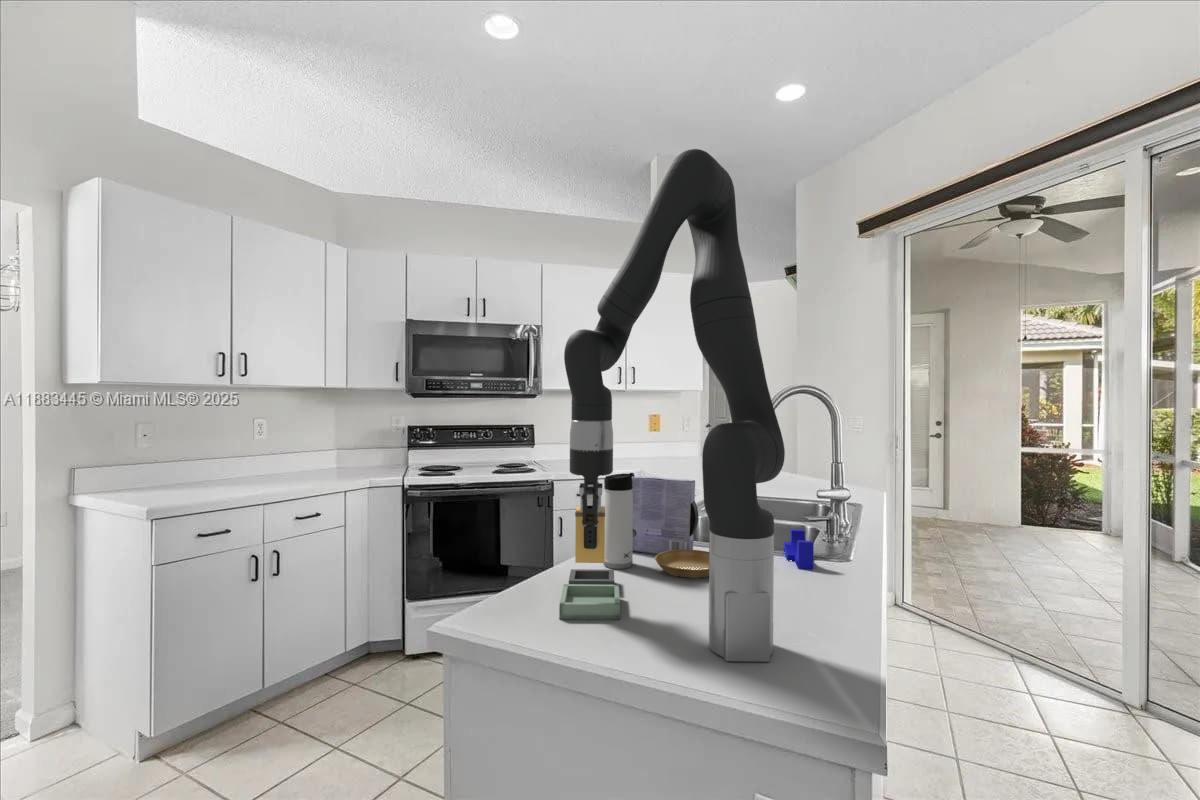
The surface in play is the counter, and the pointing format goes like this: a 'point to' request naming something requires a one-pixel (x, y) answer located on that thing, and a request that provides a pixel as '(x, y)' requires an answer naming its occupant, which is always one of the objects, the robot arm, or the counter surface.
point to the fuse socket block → (591, 576)
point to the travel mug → (618, 521)
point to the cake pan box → (663, 514)
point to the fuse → (580, 552)
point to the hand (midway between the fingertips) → (590, 544)
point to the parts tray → (590, 602)
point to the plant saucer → (684, 562)
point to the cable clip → (799, 550)
